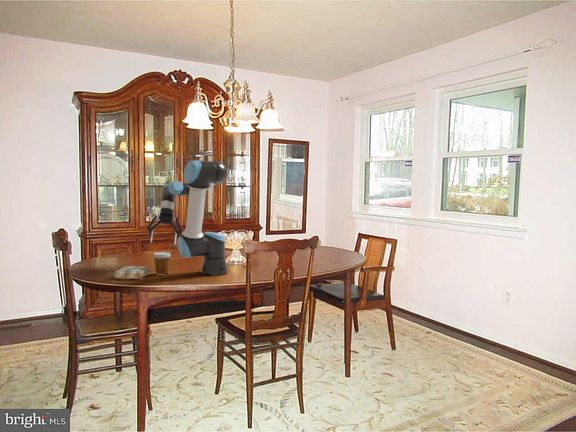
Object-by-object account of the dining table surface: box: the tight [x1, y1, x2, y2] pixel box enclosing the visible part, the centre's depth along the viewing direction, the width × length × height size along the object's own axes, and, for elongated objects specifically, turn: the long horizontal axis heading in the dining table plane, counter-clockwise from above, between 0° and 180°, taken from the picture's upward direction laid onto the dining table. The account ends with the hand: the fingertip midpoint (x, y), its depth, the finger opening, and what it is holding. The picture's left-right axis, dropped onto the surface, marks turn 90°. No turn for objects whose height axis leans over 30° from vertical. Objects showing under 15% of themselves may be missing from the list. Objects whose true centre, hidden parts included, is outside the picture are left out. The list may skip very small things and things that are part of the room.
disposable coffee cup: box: [152, 251, 172, 274], centre depth 239 cm, size 10×10×12 cm
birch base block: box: [113, 265, 151, 278], centre depth 233 cm, size 14×14×4 cm
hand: (163, 243), depth 252 cm, fingers open, 13 cm apart
